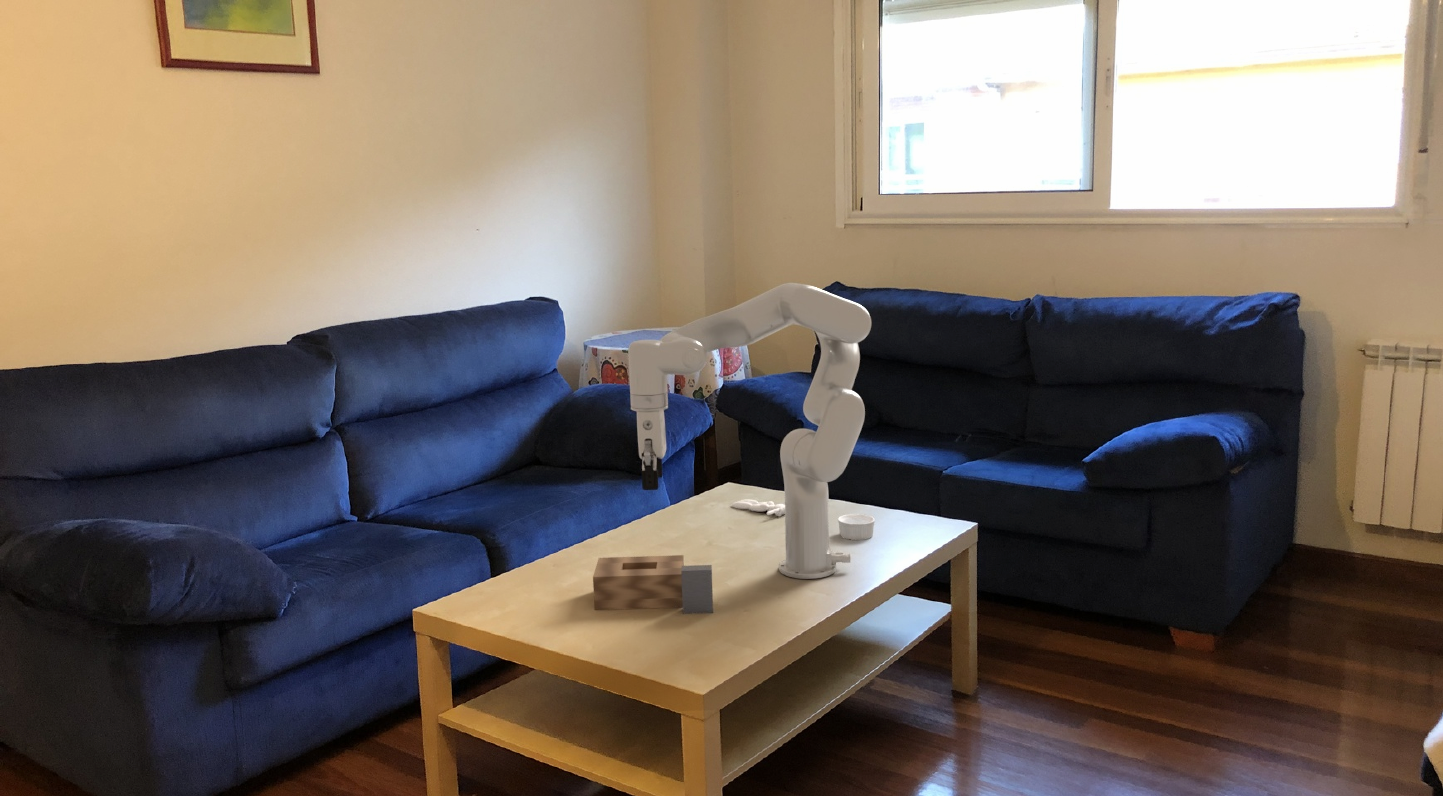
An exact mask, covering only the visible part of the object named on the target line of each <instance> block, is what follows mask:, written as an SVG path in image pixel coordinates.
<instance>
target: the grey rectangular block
mask: <svg viewBox="0 0 1443 796" xmlns="http://www.w3.org/2000/svg"><path fill="white" fill-rule="evenodd" d="M681 574H682V601H683V607H682V614H683V615H686V614H688V615H689V614H690V615H693V614H692V613H695V614H713V613H714V601H713V600H714V599H713V596H714V595H713V566H712V564H700V565H699V564H698V565H696V564H695V565H693V564H692V565H684V566H682V569H681Z"/></svg>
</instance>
